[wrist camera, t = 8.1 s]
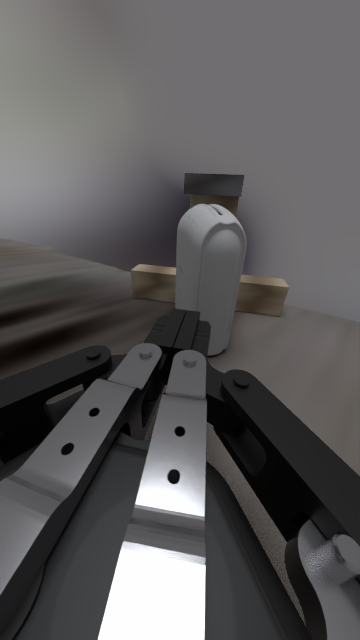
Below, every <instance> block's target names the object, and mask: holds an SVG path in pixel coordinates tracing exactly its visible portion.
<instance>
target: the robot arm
mask: <svg viewBox="0 0 360 640" xmlns="http://www.w3.org/2000/svg"><path fill="white" fill-rule="evenodd" d="M210 333H211V326H210V324H209V322H208V321H201V320H200V312H198V311H191V310H183V309H175V308H174V309H173V311H172V313H171V315H170V316H162V317H161V318H159V319H158V320H157V321H156V323H155V325H154V326H153V328H152V330H151V331H150V333H149V335H148V336H147V338H146V340H145V341H144V343H143V344H139V345H136V346H135V347H133V348H132V349H131V350H130V352H129V353H128V354H125V355H111V352H110V350H109V349H108V348H107V347H105V346H91V347H88V348H85V349H82V350H80V351H77V352H74V353H72V354H69V355H66V356H63V357H61V358H58V359H55V360H53V361H50V362H47V363H45V364H42V365H39V366H37V367H34V368H31V369H29V370H26V371H23V372H20V373H18V374H15V375H12V376H10V377H7V378H4V379H2V380H0V640H360V476H359V475H358V474H357V473H356V472H355V471H353V470H352V469H351V468H350V467H349V466H348V465H347V464H346V463H345V462H344V461H343V460H342V459H341V458H340V457H339V456H338V455H337V454H336V453H334V452H333V451H332V450H331V449H330V448H329V447H328V446H327V445H326V444H325V443H324V442H323V441H322V440H321V439H320V438H319V437H318V436H317V435H315V434H314V433H313V432H312V431H311V430H310V429H309V428H308V427H307V426H306V425H305V424H304V423H303V422H302V421H301V420H300V419H299V418H298V417H296V416H295V415H294V414H293V413H292V412H291V411H290V410H289V409H288V408H287V407H286V406H285V405H284V404H283V403H282V402H281V401H280V400H279V399H277V398H276V397H275V396H274V395H273V394H272V393H271V392H270V391H269V390H268V389H267V388H266V387H265V386H264V385H263V384H262V383H261V382H260V381H258V380H257V379H256V378H255V377H254V376H253V375H252V374H250V373H248V372H246V371H243V370H230V371H227V372H226V373H225V374H224V373H222V372H220V371H218V370H216V369H214V368H213V367H212V366H211V365H210V364H209V362H208V360H207V354H208V347H209V340H210ZM80 384H82V385H83V388H84V389H83V390H81V391H79V392H77V393H75V394H73V395H71V396H69V397H67V398H65V399H62V400H60V401H58V402H56V403H54V404H50V405H48V404H45V403H46V402H47V401H48V400H49V399H50V398H52V397H54V396H56V395H58V394H60V393H63V392H65V391H67V390H69V389H71V388H73V387H76V386H78V385H80ZM165 385H167V389H166V392H165V393H163V395H162V391H163V388H164V386H165ZM160 400H161V402H160ZM159 403H160V406H159V410H158V414H157V418H156V422H155V426H154V430H153V434H152V438H151V440H144V439H145V435H146V433H147V430H148V428H149V426H150V423H151V421H152V419H153V416H154V414H155V412H156V410H157V407H158V405H159ZM206 421H207V422H208V423H210V424H212V425H213V427H214V430H215V432H216V434H217V436H218V437H219V439H220V440H221V442H222V443H223V445H224V446H225V448H226V449H227V451H228V452H229V454H230V456H231V457H232V459H233V460H234V462H235V463H236V465H237V466H238V468H239V469H240V471H241V472H242V474H243V476H244V477H245V479H246V480H247V482H248V483H249V485H250V486H251V488H252V489H253V491H254V492H255V494H256V496H257V497H258V499H259V500H260V502H261V503H262V505H263V506H264V508H265V509H266V511H267V512H268V514H269V516H270V517H271V519H272V520H273V522H274V523H275V525H276V526H277V528H278V529H279V531H280V532H281V534H282V536H283V537H284V539H285V540H286V542H287V545H286V548H285V555H284V556H285V566H286V571H287V575H288V578H289V580H290V583H291V585H292V587H293V589H294V592H295V594H296V596H297V598H298V600H299V603H300V605H301V608H302V611H303V615H304V618H305V624H306V626H305V624H304V623H303V621H302V619H301V617H300V615H299V613H298V611H297V610H296V608H295V606H294V604H293V602H292V600H291V599H290V597H289V595H288V593H287V591H286V589H285V588H284V586H283V584H282V582H281V580H280V578H279V577H278V575H277V573H276V571H275V569H274V567H273V565H272V564H271V562H270V560H269V558H268V556H267V554H266V553H265V551H264V549H263V547H262V545H261V543H260V542H259V540H258V538H257V536H256V534H255V532H254V530H253V529H252V527H251V525H250V523H249V521H248V519H247V518H246V516H245V514H244V512H243V510H242V508H241V507H240V505H239V503H238V501H237V499H236V497H235V495H234V494H233V492H232V490H231V488H230V487H229V485H228V484H227V482H226V481H225V479H224V478H223V477H222V475H221V474H220V473H219V472H218V471H217V470H216V469H215V468H214V467H213V466H212V465H211V464H209V463H208V462H207V461H206Z"/></svg>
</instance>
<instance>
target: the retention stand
mask: <svg viewBox="0 0 360 640" xmlns="http://www.w3.org/2000/svg"><path fill="white" fill-rule="evenodd" d="M243 180H244V175H225V174H194V173H193V174H192V173H185V182H184V194H191V201H190V209H191V208H192V207H194V206H196V205H199V204H206V205H210V204H217V205H220V206H222V207H224V208H225V209H227V210H228V211H230V212H231V213H232V214H233V215H234V216H235V217H236V212H237V206H238V199H239V196H241V192H242V186H243ZM131 276H132V289H133V297H134V298H141V299H149V300H157V301H165V302H172V303H175V290H176V268H172V267H161V266H152V265H142V264H139V265H137V266H136V267H135V268H133V269H132V270H131ZM288 289H289V286H288V285H287V283H286V282H285V280H284V279H279V278H268V277H258V276H249V275H241V279H240V284H239V289H238V294H237V300H236V305H235V310H234V311H242V312H250V313H257V314H265V315H273V316H280V313H281V310H282V307H283V304H284V301H285V298H286V295H287V292H288Z"/></svg>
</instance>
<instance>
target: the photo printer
mask: <svg viewBox="0 0 360 640" xmlns="http://www.w3.org/2000/svg"><path fill="white" fill-rule="evenodd" d="M246 245H247V243H246V236H245V233H244V230H243V228H242V226H241V224H240V223H239V221H238V220H237V219H236V217H235V216H234V215H233V214H232V213H231V212H230V211H228V210H227V209H225V208H224V207H222V206H220V205H217V204H210V205H206V204H199V205H196V206H194V207H192V208H191V209H189V210H188V211H187V212H186V213H185V214H184V216H183V217H182V219H181V220H180V222H179V225H178V230H177V257H176V290H175V309H183V310H191V311H198V312H200V320H201V321H208V322H209V324H210V326H211V333H210V340H209V347H208V354H207V356H210V355H216V354H219V353H220V352H222V350H223V349H226V348H227V345H228V342H229V337H230V332H231V326H232V320H233V315H234V310H235V305H236V300H237V294H238V289H239V284H240V279H241V274H242V268H243V263H244V259H245V253H246Z"/></svg>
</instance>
